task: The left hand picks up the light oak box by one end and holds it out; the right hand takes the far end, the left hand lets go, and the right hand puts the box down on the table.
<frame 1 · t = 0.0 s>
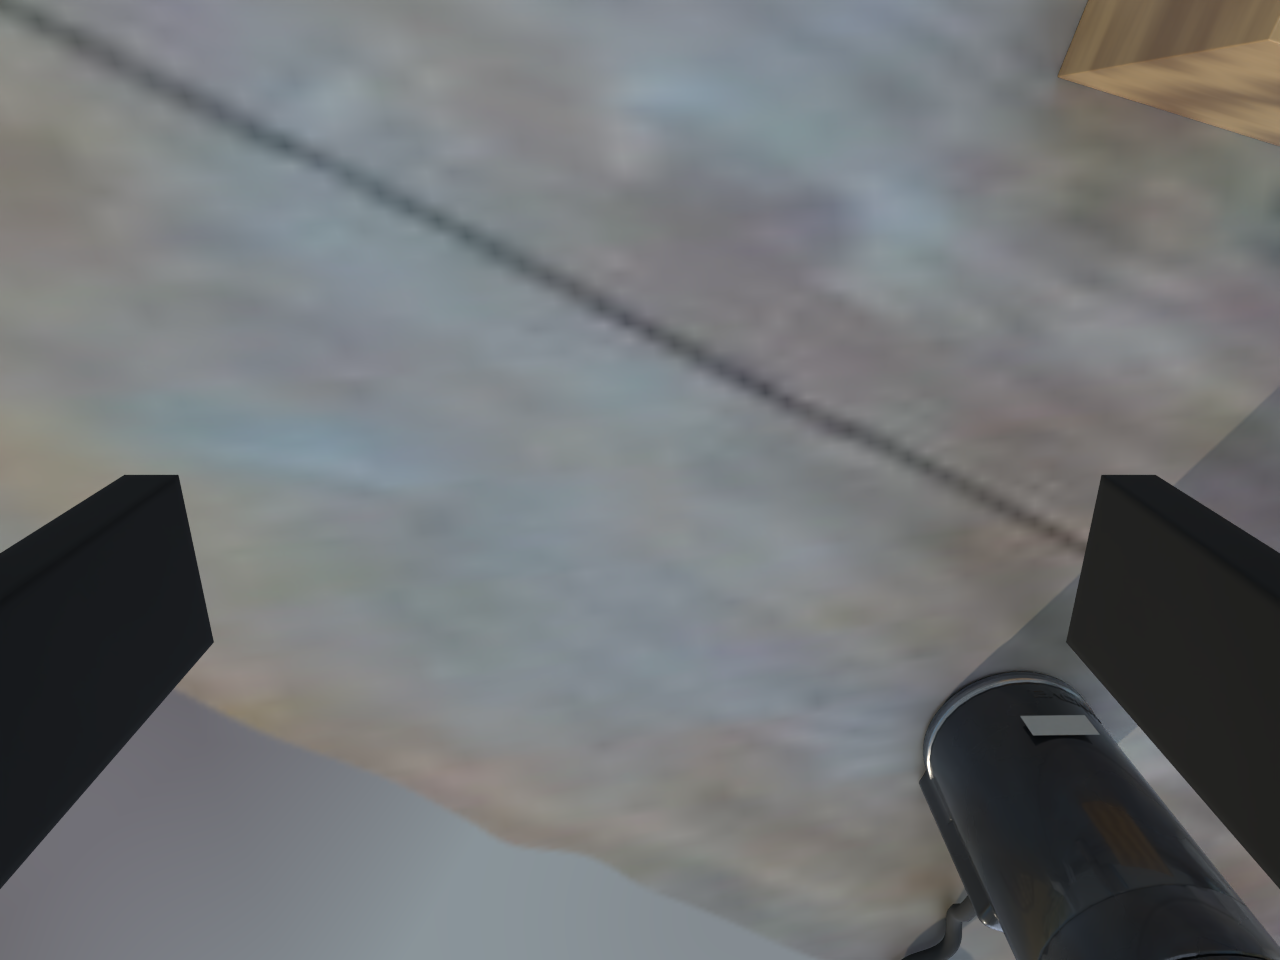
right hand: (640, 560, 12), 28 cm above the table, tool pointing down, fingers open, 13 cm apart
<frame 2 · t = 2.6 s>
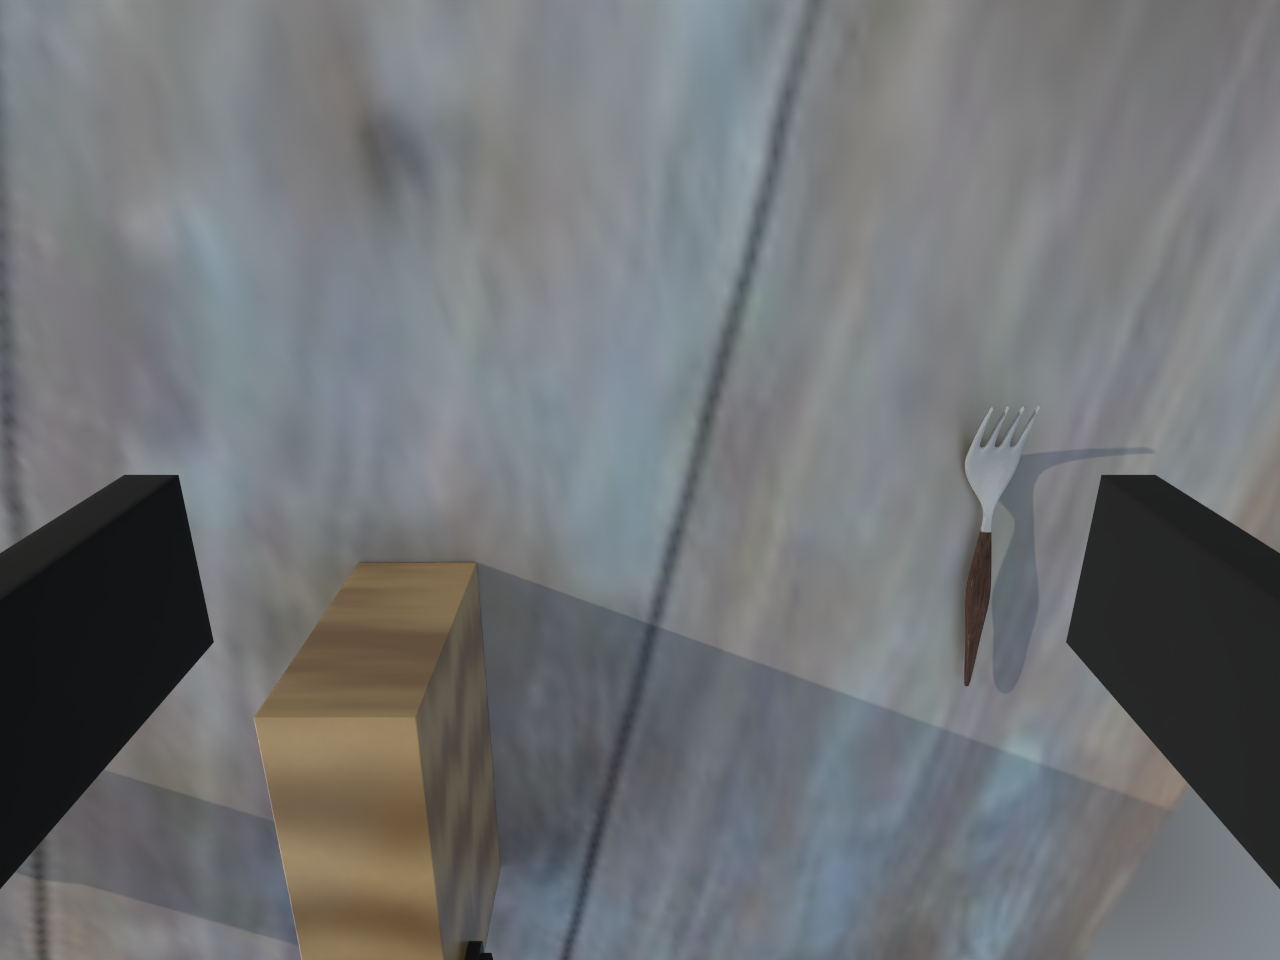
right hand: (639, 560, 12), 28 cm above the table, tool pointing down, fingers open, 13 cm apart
fork: (978, 545, 43), on the table
box: (435, 727, 47), on the table, touching left hand
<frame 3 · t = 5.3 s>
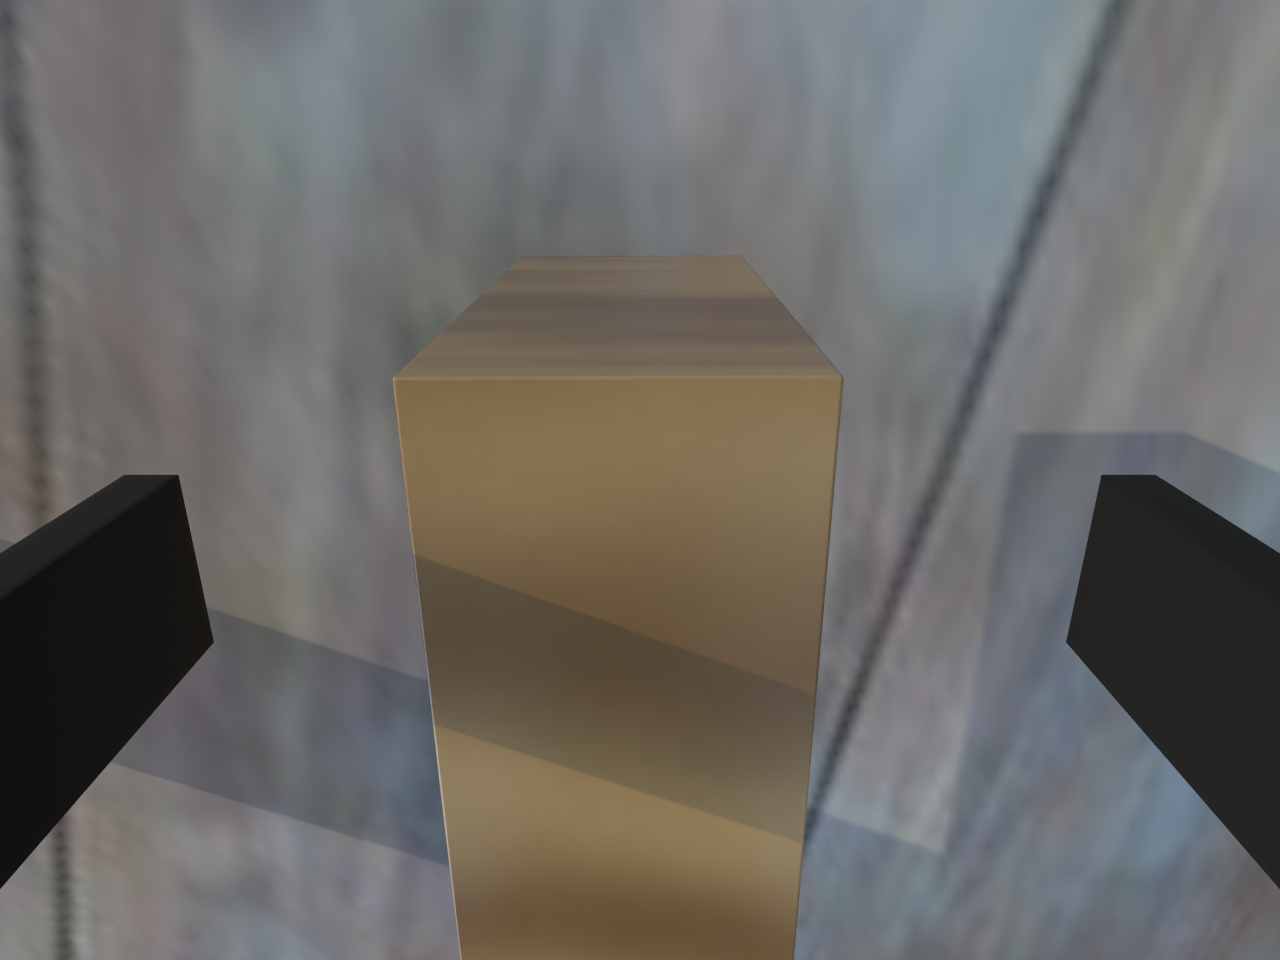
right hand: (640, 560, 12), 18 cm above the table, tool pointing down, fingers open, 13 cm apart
box: (634, 586, 27), point 5 cm above the table, touching left hand
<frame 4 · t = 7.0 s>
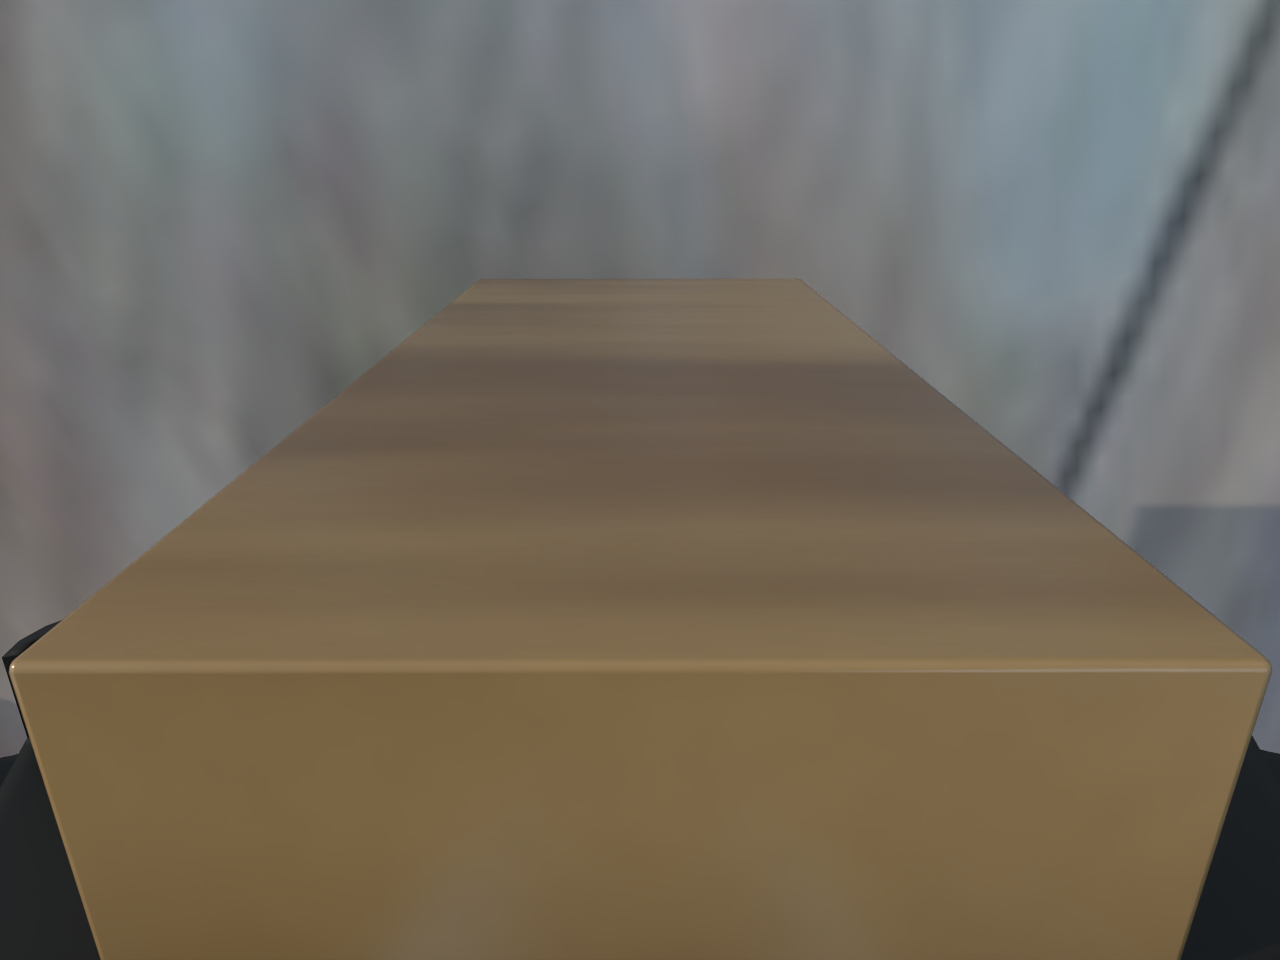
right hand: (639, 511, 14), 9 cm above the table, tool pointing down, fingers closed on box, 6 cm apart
box: (640, 729, 20), point 5 cm above the table, touching right hand, left hand
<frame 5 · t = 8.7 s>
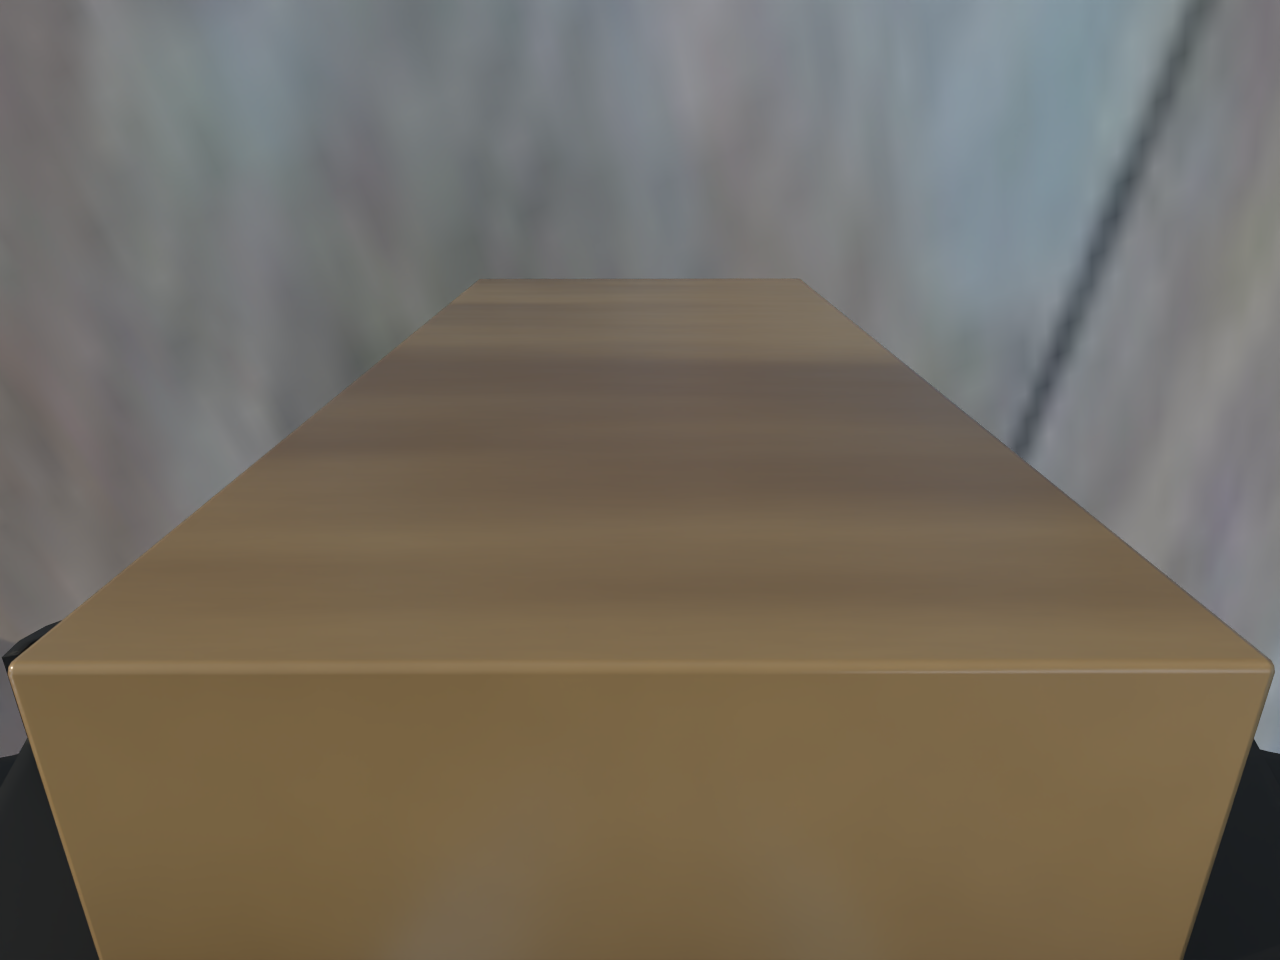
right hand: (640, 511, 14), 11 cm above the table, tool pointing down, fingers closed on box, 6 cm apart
box: (640, 729, 20), point 8 cm above the table, touching right hand
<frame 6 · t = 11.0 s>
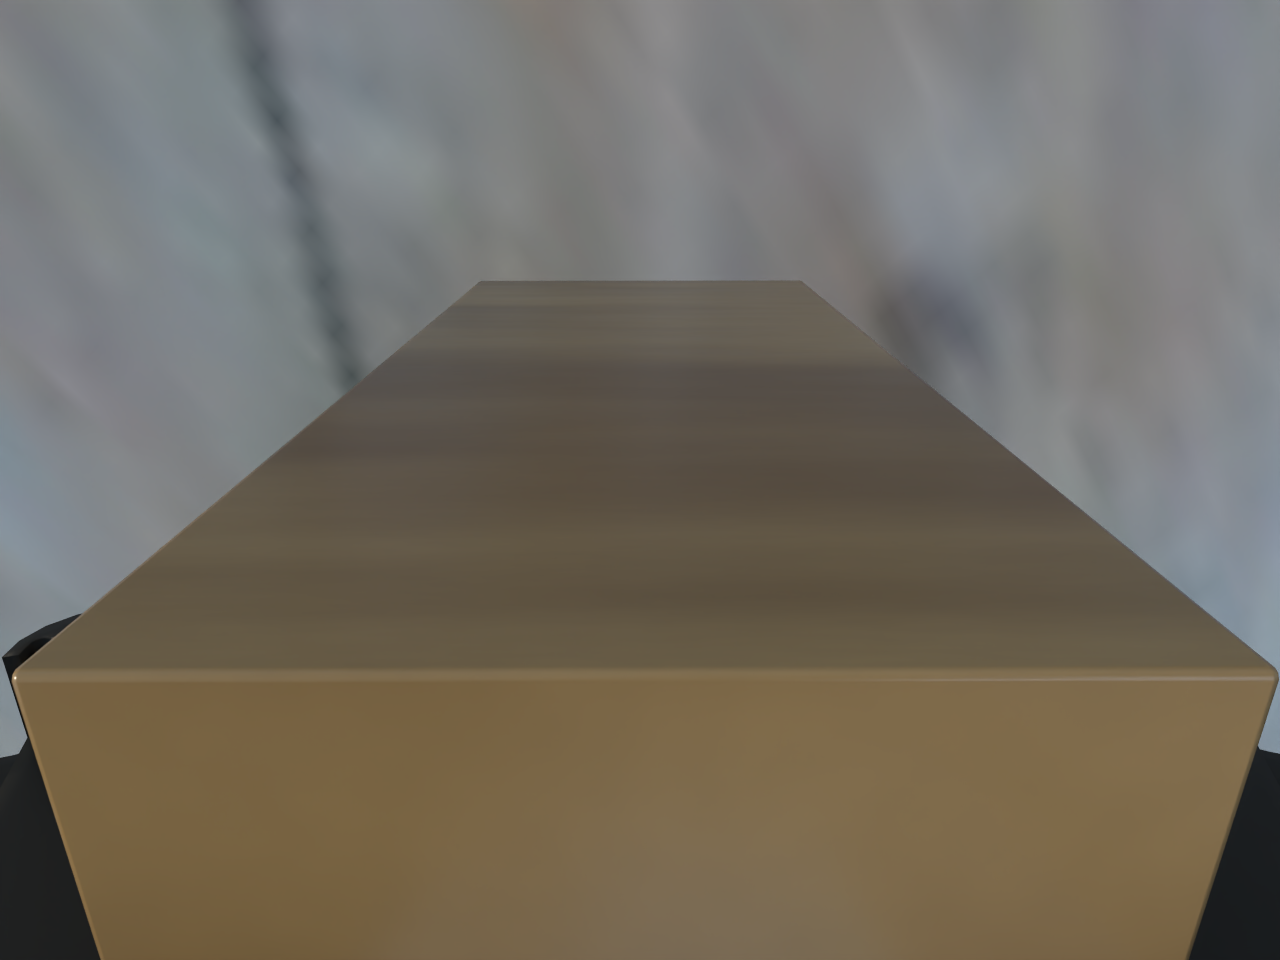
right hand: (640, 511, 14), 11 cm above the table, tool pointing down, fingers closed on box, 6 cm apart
box: (641, 730, 20), point 8 cm above the table, touching right hand
when the right hand's fingers open (5 cm above the table, at t = 14.9 s): box drops 2 cm, on the table.
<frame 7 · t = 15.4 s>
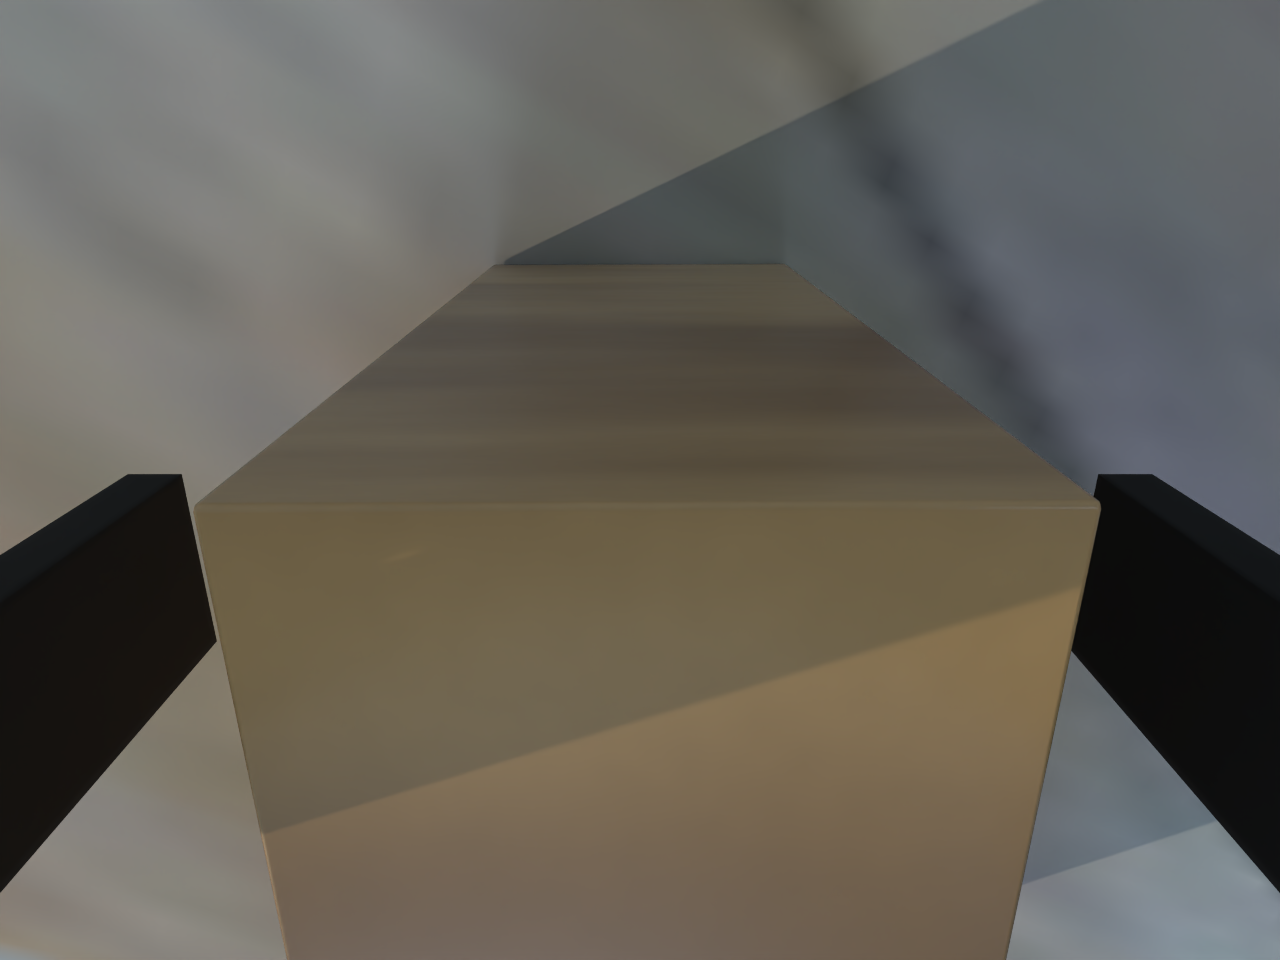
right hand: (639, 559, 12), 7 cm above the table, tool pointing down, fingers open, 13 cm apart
box: (640, 683, 21), on the table
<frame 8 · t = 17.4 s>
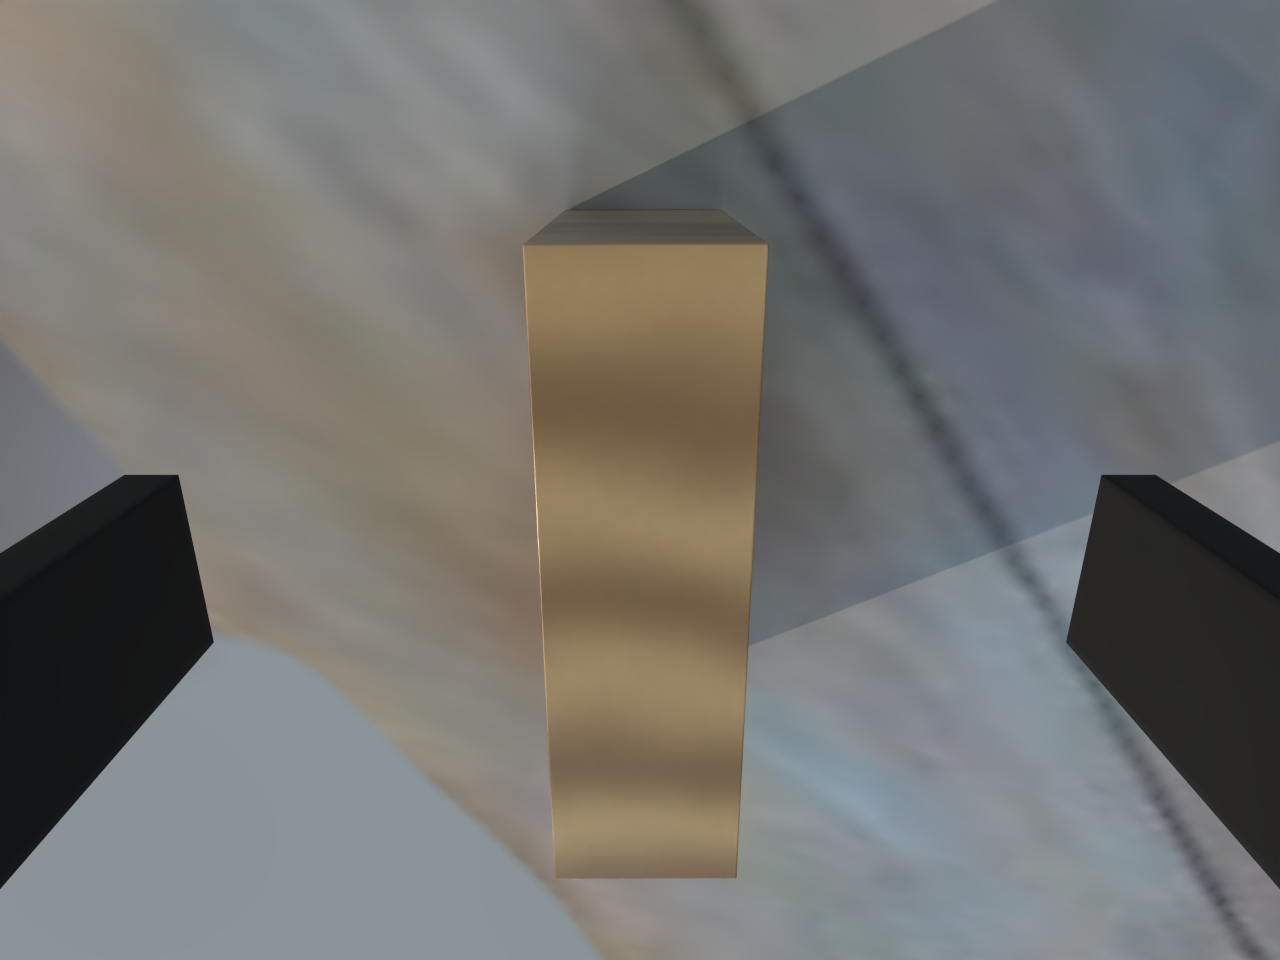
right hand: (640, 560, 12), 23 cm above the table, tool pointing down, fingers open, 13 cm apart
box: (643, 459, 36), on the table
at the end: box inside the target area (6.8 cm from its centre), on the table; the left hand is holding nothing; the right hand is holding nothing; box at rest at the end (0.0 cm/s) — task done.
